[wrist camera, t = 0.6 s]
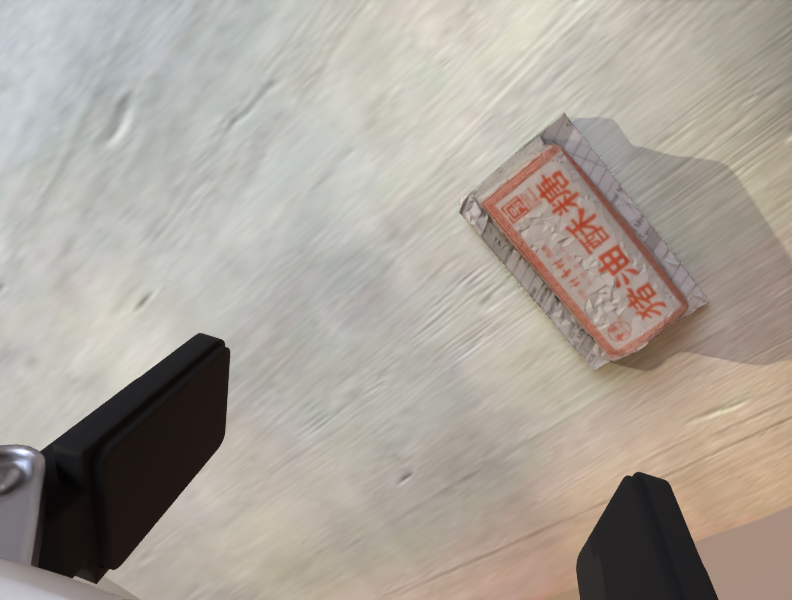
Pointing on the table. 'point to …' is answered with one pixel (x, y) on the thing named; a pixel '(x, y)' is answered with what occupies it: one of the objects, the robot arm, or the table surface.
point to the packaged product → (580, 246)
